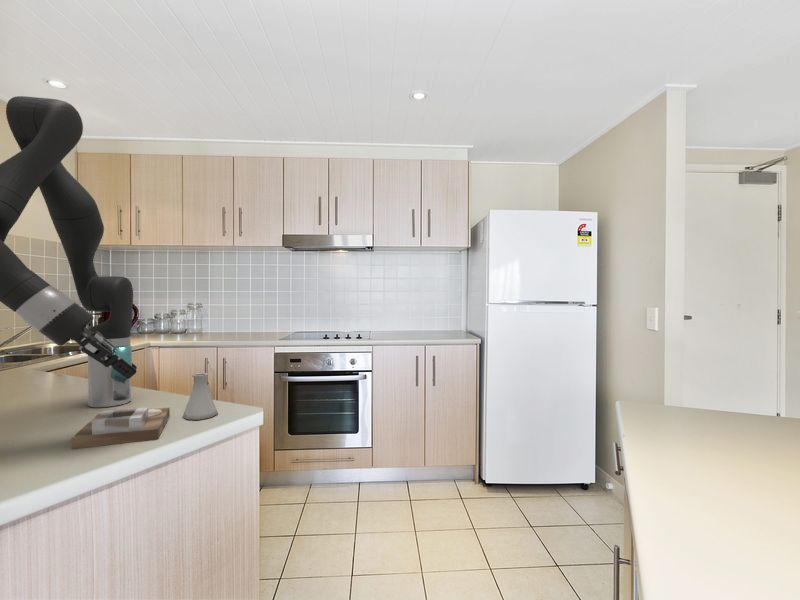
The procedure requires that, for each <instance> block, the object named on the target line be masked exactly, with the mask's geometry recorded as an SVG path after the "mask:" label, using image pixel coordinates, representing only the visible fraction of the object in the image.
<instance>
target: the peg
mask: <svg viewBox="0 0 800 600" xmlns="http://www.w3.org/2000/svg"><path fill="white" fill-rule="evenodd" d="M132 347H133V346H132V345H130V346H115V347H113V348H114V349H113V351H114V352H115V353H116V354H117V355H119V356H121V358H122V359H123V360H124V361H126V362H127V363H128V364H130V365H131V366H132V363H133V361H132V360H133V357H132V352H133V351H132V349H133V348H132ZM110 378H113V400H114V401H121V400H127V399H129V398H130V379H127V378H125V377H124V376H123V375H121V374H120V373H119V372H117V371H116V370H115V369H113V367H112V368H110Z"/></svg>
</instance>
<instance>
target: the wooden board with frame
mask: <svg viewBox="0 0 800 600" xmlns="http://www.w3.org/2000/svg"><path fill="white" fill-rule="evenodd" d="M170 409H171V408H170V406H169V407H159V408H149V407H148V406H146V407H135V408H134V407H133V408H124V409H114V410H113V409H112V410H103V411H102V412H100V413H97V414H96V415H95V416H94V417H93V418H92V419H91V420H89V422H88V423H87V424H85V425H84V426H83V427H82V428H81V429H80V430H79V431H78V432H76V433H75V434H74V436H72V437H71V450H73V449H82V448H84V449H85V448H92V447H100V446H108V445H109V446H111V445H118V444H127V443H135V442H136V443H137V442H143V441H144V442H147V441H153V440H159V438H160V436H161V434H162V433H163V430H164V428H165V426H166V424H167V422H168V420H169V418H170V416H171V415H170V414H171V412H170V411H171V410H170Z"/></svg>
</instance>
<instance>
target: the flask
mask: <svg viewBox="0 0 800 600" xmlns="http://www.w3.org/2000/svg"><path fill="white" fill-rule="evenodd" d="M191 376H192V378H193V385H192V386H193V387H192V391H191V393H190V396H189V399H188V401H187V404H186V406H185V409H184V411H183V414H182V418H184V419H186V420H192V421H194V420H197V421H199V420H200V421H201V420H204V419H205V420H206V419H209V418H213V417H215V416H217V415H218V414H219V412H218V409H217V408H216V405H215V403H214V400H213V398H212V396H211V395H212V394H211V393H210V391H209V390H210V389H209V386H208V377H209V373H208V372H198V373H194V374H192V375H191Z"/></svg>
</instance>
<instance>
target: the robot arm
mask: <svg viewBox="0 0 800 600" xmlns="http://www.w3.org/2000/svg"><path fill="white" fill-rule="evenodd" d="M5 116H6V120H7V123H8V127H9V130H10V131H11V134H12V136H13V138H14V140H15V141H16V143H17V145H18V148H19V149H20V151H19V152H18V153H16V154H14V155H12V156H11V157H10V158H9V157H8V159H6V160H5V161H3V162H1V163H0V303H1V304H3V305H4V306H5V307H7V308H9V309H10V310H11V311H13V312H15V314H16V315H18V316H19V317H20V318H21V319H22V320H23V321H24V322H26V323H27V324H28V326H29V325H30V326H31V327H32V328H33V329H35V330H36V331H37V332H39V333H40V334H42V335H43V336H45V337H46V338H48V339H49V340H50V341H51V342H53V343H54V344H55V345H57V346H60V347H62V346H64V345H65V344H67V343H68V342H69V341H70V340H73V341H74V342H76V344H78V346H77V349H79V350H80V351H81V352H82V353H84V354H85V355H87V400H88V401H87V406H88V407H90V408H108V407H115V406H121V405H124V404H127V403H130V402H131V401H132V382H131V381H132V377H133V376H134V375H136V374H137V368H138V367H137V365H136V364H134V363H133V362H132V366H131V365H130V364H128V363H127V362H126V361H124V360H123V359H122V358H121V356H119V355H117V354H116V353H115V352H114V351H113V349H114V348H113V347H115V346H131V330H132V325H133V306H134V305H133V304H134V288H133V285H132V281H131V280H130V279H129V278H128V277H125V276H109V275H108V276H106V275H103V276H100V275H98V274H97V272H96V268H95V264H94V258H95V255H96V252H97V250H98V248H99V246H100V244H101V241H102V239H103V236H104V231H105V227H104V222H103V219H102V216H101V213H100V211H99V207H98V205H97V203H96V200H95V199H94V198H93V196H92V194H90V192H89V191H88V190H87V189H86V188H85V187H84V186H83V185H81V183H80V182H79V181H78V180H77V179H76V178H75V177H74V176H73V175H72V174H71V173H70V172H69V171H68V170H67V169H66V167H65V166H64V164H63V163H62V161H63V160H64V159H65V157H66V156H67V155H68V154H70V153H71V151H72V150H73V149H74V148H75V147H76V146H77V145H78V143H79V142H80V140H81V138H82V137H83V136H82V135H83V132H84V123H83V120H82V117H81V115H80V113H79V111H78V110H77V108H75V107H74V106H73V105H72V104H71V103H69V102H67V101H64V100H61V99H56V98H50V97H49V98H48V97H35V96H23V95H21V96H20V95H18V96H13V97H11V98H10V99H9V100H8V101H7V103H6V107H5ZM38 188H39V190H40V193H41V194H42V197H43V200H44V202H45V204H46V207H47V210H48V213H49V216H50V219H51V221H52V224H53V226H54V229H55V231H56V234H57V236H58V238H59V240H60V243H61V245H62V248H63V250H64V253H65V256H66V258H67V261H68V264H69V267H70V271H71V275H72V279H73V283H74V286H75V289H76V290H75V291H76V293H77V296H78V300H79V302H80V304H81V306H80V305H79V304H78V303H77V302H75V301H74V300H73V299H71V298H70V297H69V296H68V295H66V294H65V293H64V292H62V291H61V290H59V289H57V288H55V287H54V286H53V285H51V284H50V283H48V282H47V281H46V280H45V279H43V278H42V277H41V276H39V275H38V274H37V273H35V272H34V271H33V270H31V269H29V268H28V267H27V266H26V264H25V263H24V262H23V261H22V260H21V259H20V257H18V255H16V253H15V252H14V251H13V250H12V249H11V248H10V247H9V246H8V245H7V244H6V243H5V241H6V238H7V236H8V234H9V232H10V231H11V229H12V228H13V227H14V226H15V224H17V221H18V220H19V219H20V217H21V215H22V213H23V212H24V210H25V209H26V207H27V205H28V203H29V202H30V200H31V198H32V196H33V195H34V193H35V192H36V190H37V189H38ZM88 311H89V312H88ZM90 312H95V313H96V312H98V313H100V312H102V313H103V312H104V313H105V312H109V313H110V314H109V317H108V319H106V320H105V321H103V322H101V323H99V324H95V325H92V326H91V327H89V328H87V327H88V325H89V324H90V323H92V322H93V321H94V317H95V316H93V315H92V314H91V313H90ZM112 367H113V369H115V370H116V371H117V372H119V373H120V374H121V375H123V376H124V377H125V378H127V379H130V398H129V399H127V400H121V401H114V400H113V378H110V368H112ZM129 401H130V402H129Z"/></svg>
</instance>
